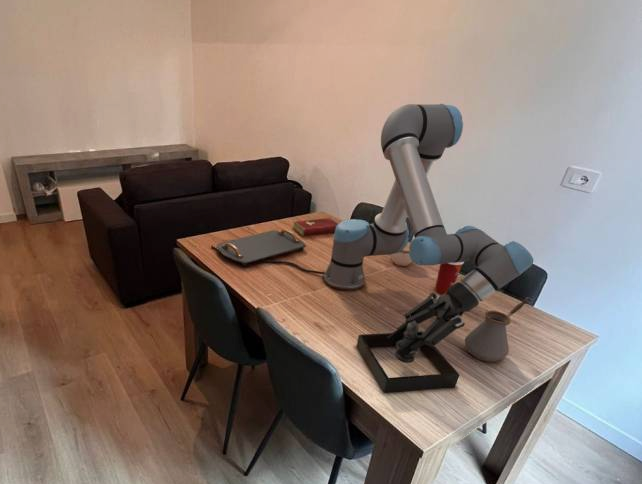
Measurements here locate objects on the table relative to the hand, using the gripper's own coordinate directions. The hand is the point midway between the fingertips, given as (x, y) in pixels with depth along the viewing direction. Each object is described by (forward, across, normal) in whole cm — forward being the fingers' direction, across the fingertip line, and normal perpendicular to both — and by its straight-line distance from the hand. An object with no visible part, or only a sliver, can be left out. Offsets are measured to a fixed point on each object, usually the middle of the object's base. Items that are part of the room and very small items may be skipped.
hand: (394, 347), depth 109 cm
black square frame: (+2, 0, -7) cm, 8 cm away
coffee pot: (-20, +5, -29) cm, 36 cm away
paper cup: (-22, +40, -32) cm, 56 cm away
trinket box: (-19, +65, -30) cm, 74 cm away
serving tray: (+22, +82, +11) cm, 85 cm away
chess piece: (0, 0, -5) cm, 5 cm away
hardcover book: (0, +104, -12) cm, 105 cm away
